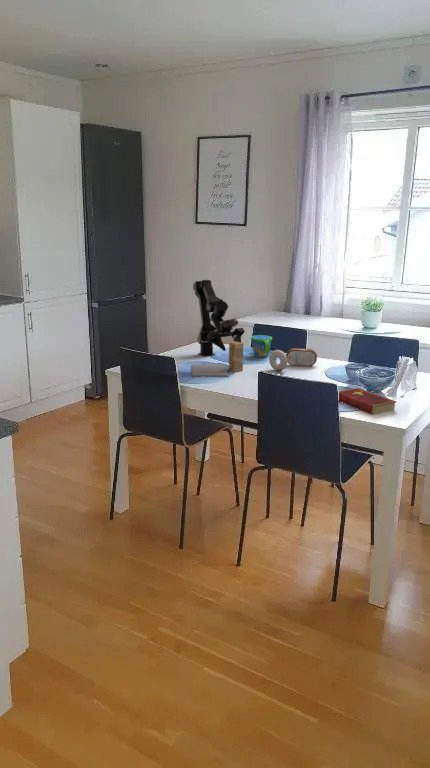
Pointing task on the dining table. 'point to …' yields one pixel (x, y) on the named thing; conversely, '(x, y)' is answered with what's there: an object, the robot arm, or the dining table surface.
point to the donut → (274, 363)
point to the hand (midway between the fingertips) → (233, 349)
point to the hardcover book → (366, 401)
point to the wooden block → (236, 356)
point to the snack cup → (261, 345)
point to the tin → (301, 357)
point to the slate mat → (209, 370)
